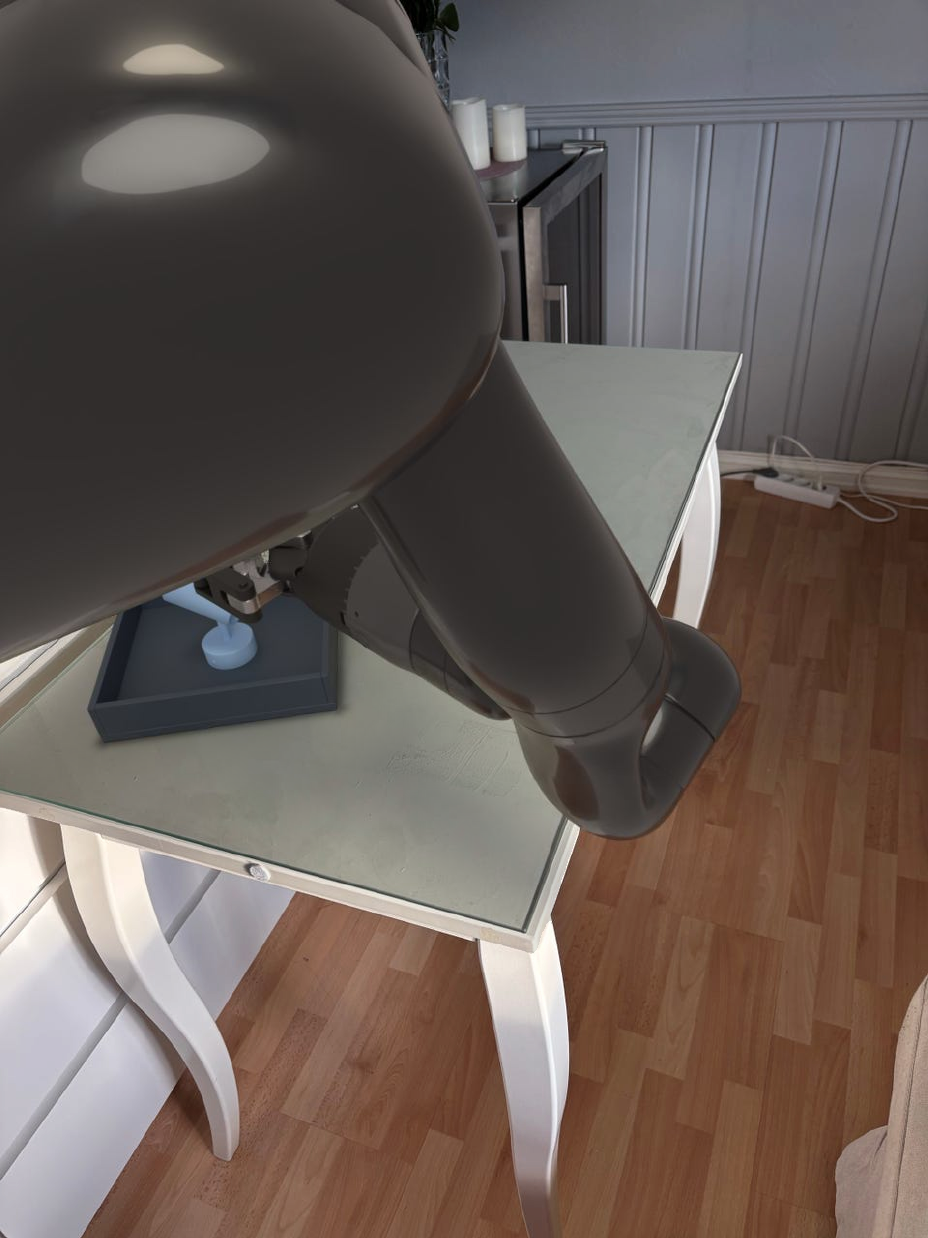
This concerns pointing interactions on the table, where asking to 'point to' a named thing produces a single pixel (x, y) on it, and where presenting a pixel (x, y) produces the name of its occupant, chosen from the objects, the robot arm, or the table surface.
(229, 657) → the spotlight
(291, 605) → the tray
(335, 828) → the table surface
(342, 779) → the table surface
